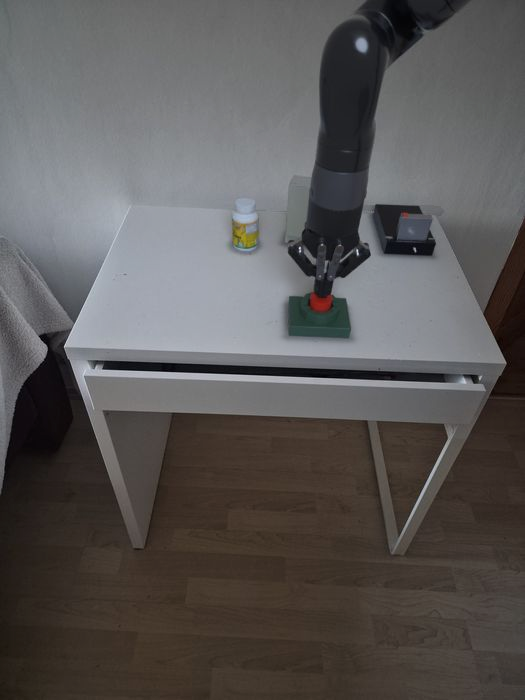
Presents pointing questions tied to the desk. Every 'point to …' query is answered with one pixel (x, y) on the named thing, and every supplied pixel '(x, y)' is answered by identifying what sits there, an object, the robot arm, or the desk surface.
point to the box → (297, 207)
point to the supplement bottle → (245, 225)
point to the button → (320, 303)
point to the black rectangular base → (387, 227)
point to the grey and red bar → (413, 227)
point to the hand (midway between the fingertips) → (321, 294)
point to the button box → (318, 318)
